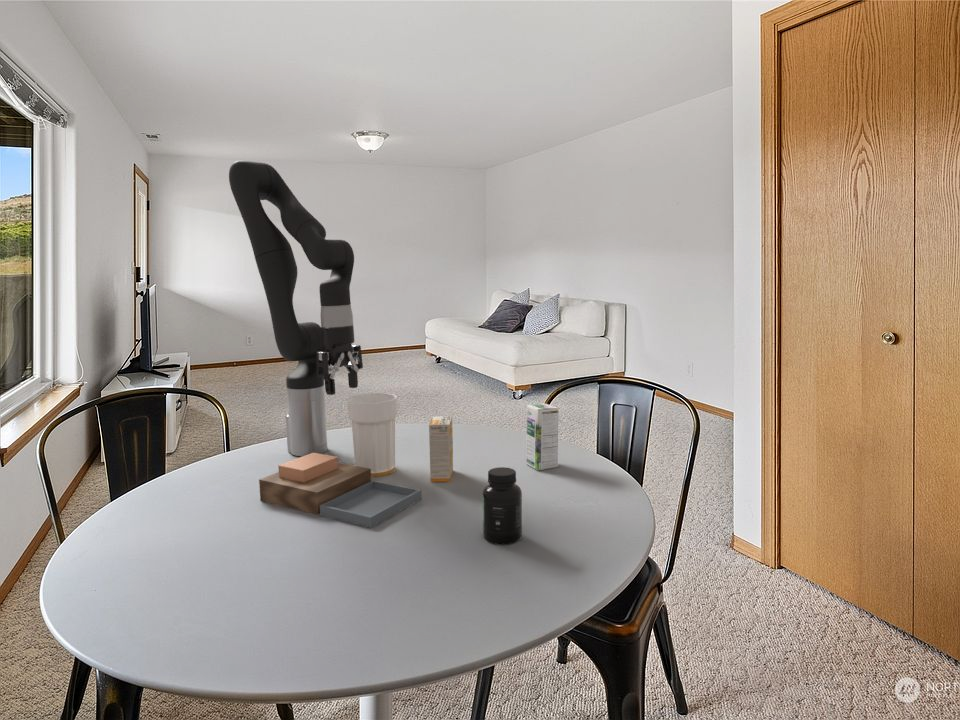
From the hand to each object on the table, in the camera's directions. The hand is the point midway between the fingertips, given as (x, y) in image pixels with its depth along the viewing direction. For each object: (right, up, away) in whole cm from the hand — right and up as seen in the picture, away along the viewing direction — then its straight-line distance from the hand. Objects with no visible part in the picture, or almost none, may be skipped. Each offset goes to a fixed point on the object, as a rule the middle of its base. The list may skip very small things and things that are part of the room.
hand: (342, 391), depth 155 cm
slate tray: (+12, -22, -28) cm, 37 cm away
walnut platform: (-1, -21, -21) cm, 29 cm away
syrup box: (+48, -18, -4) cm, 51 cm away
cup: (+9, -19, -6) cm, 21 cm away
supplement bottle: (+37, -24, -42) cm, 61 cm away
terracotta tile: (-3, -16, -20) cm, 26 cm away
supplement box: (+25, -19, -10) cm, 33 cm away
